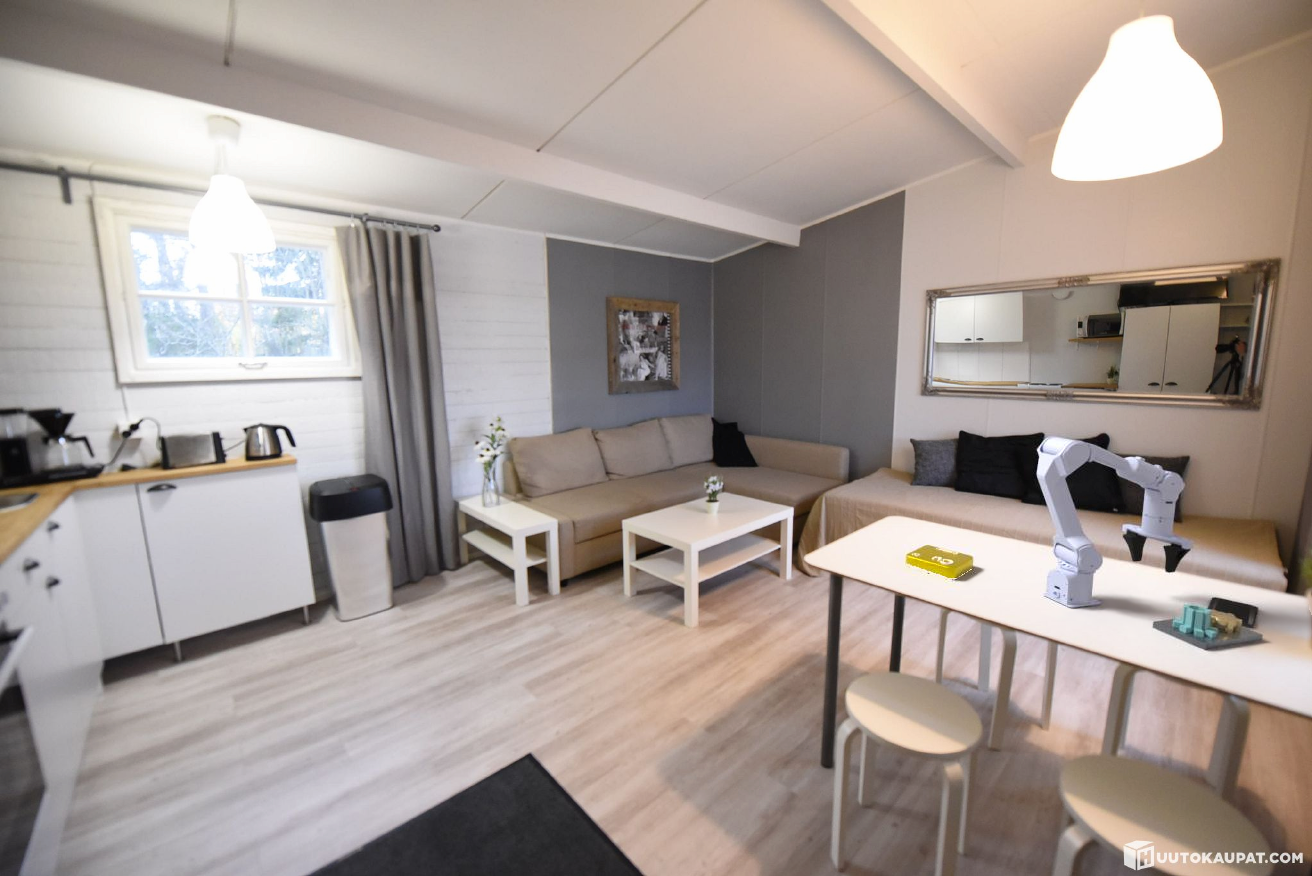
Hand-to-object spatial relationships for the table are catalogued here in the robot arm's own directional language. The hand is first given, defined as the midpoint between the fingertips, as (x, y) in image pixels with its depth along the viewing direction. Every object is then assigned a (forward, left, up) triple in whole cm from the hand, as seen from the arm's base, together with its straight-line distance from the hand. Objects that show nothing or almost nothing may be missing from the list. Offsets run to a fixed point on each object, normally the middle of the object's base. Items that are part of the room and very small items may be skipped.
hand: (1152, 566), depth 131 cm
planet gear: (-10, -16, -8) cm, 20 cm away
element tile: (-36, +33, -10) cm, 50 cm away
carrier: (-7, -16, -9) cm, 20 cm away
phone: (+11, -10, -10) cm, 18 cm away
